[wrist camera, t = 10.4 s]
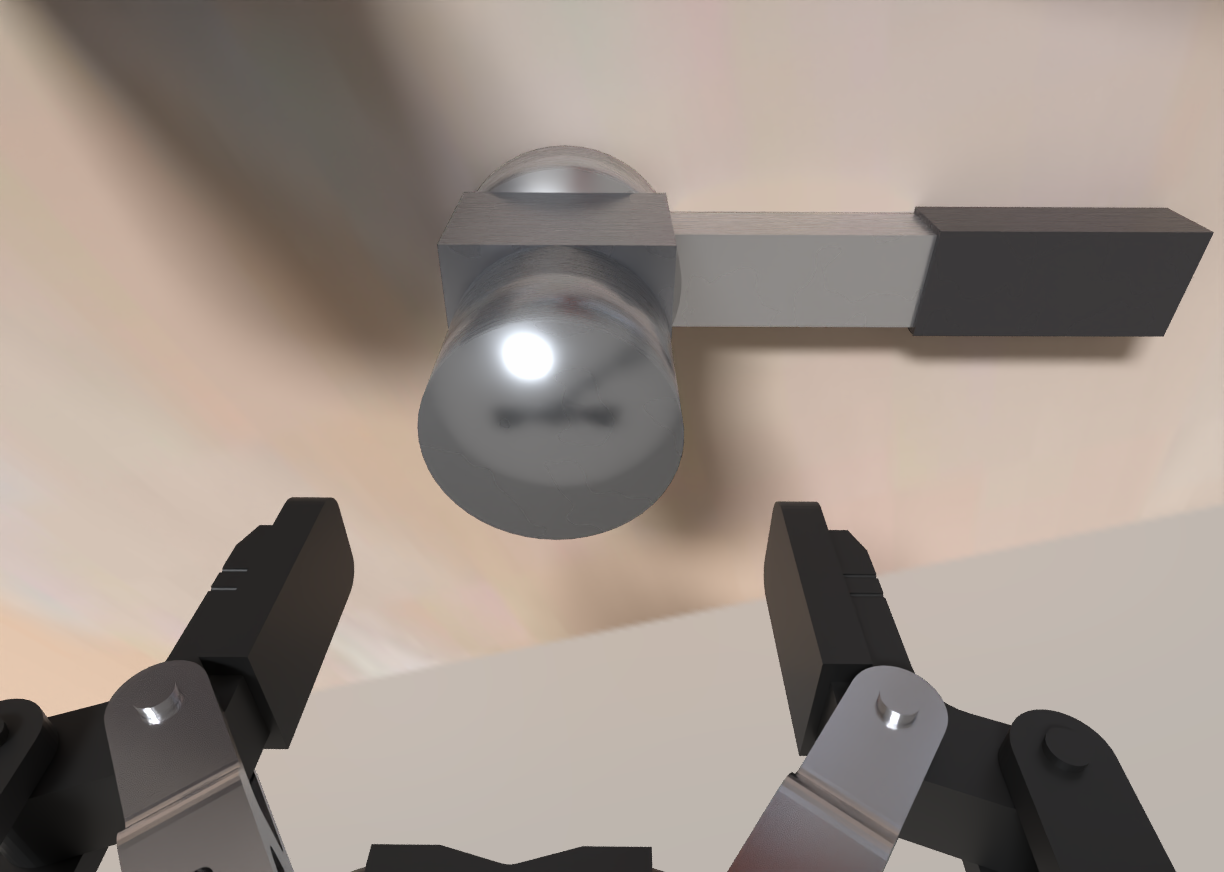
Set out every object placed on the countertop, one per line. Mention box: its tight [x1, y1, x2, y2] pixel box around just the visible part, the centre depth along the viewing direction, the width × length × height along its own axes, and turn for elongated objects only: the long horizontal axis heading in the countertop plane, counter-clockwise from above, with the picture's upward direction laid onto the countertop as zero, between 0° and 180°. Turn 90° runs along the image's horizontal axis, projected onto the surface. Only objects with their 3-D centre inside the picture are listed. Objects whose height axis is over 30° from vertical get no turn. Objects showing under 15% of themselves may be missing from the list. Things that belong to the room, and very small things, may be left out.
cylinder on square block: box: [418, 192, 684, 540], centre depth 19 cm, size 6×6×8 cm
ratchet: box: [477, 146, 1214, 336], centre depth 22 cm, size 22×7×6 cm, turn 90°
